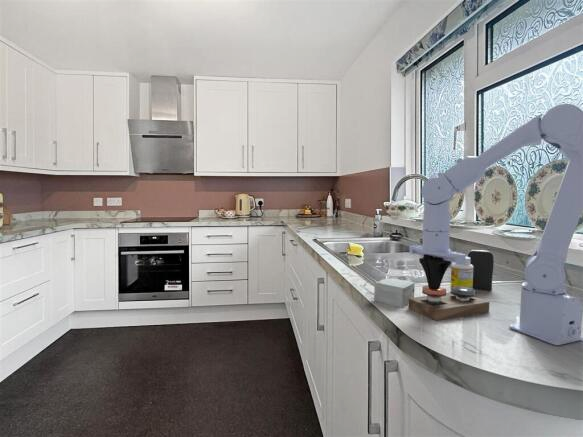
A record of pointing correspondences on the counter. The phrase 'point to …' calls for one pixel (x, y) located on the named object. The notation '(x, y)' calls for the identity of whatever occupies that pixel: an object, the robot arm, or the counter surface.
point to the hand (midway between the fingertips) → (434, 288)
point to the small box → (394, 291)
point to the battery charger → (482, 268)
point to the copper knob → (434, 295)
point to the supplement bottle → (462, 274)
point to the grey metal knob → (462, 293)
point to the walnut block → (448, 307)
